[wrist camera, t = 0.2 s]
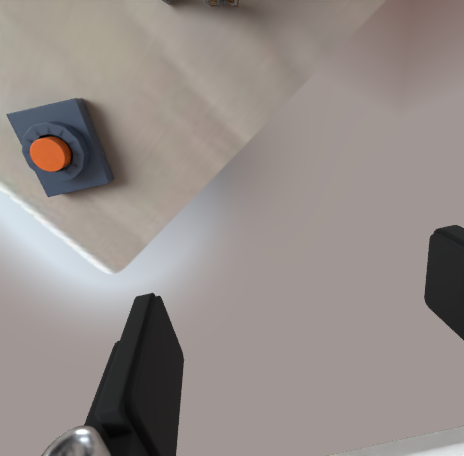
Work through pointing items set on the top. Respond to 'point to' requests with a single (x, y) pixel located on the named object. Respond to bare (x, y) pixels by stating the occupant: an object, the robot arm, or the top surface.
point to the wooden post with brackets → (214, 2)
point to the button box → (74, 135)
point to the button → (50, 153)
